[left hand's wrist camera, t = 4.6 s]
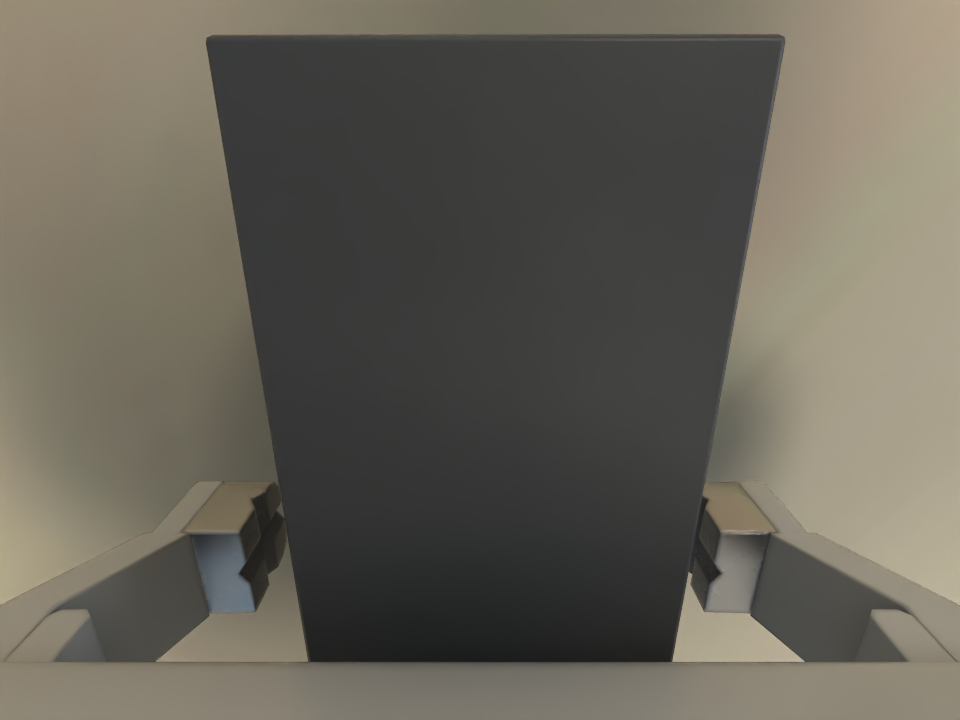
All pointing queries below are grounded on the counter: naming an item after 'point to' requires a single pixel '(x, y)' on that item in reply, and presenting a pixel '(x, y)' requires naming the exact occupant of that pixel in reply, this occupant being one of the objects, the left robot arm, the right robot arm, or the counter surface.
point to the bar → (493, 324)
